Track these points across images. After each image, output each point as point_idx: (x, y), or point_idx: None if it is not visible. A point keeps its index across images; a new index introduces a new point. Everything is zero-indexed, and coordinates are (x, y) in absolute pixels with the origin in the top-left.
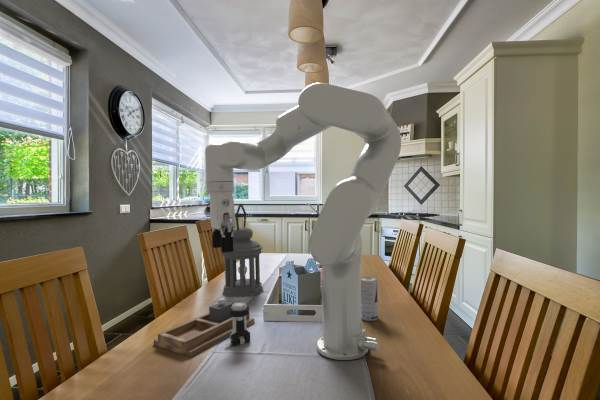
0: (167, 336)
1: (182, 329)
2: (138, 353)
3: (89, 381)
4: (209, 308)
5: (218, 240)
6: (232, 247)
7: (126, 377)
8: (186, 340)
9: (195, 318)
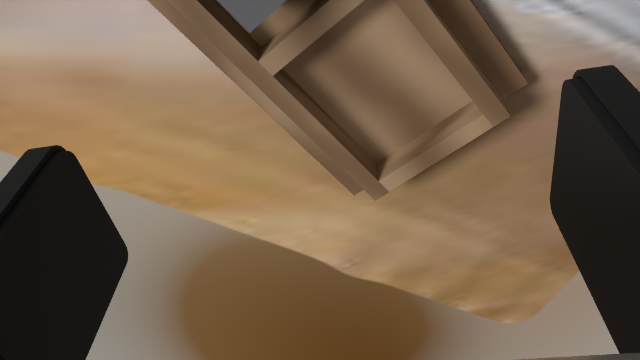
0: (417, 171)
1: (324, 118)
2: (400, 216)
3: (508, 285)
4: (253, 28)
5: (60, 275)
6: (629, 101)
7: (540, 225)
8: (496, 111)
9: (253, 76)
